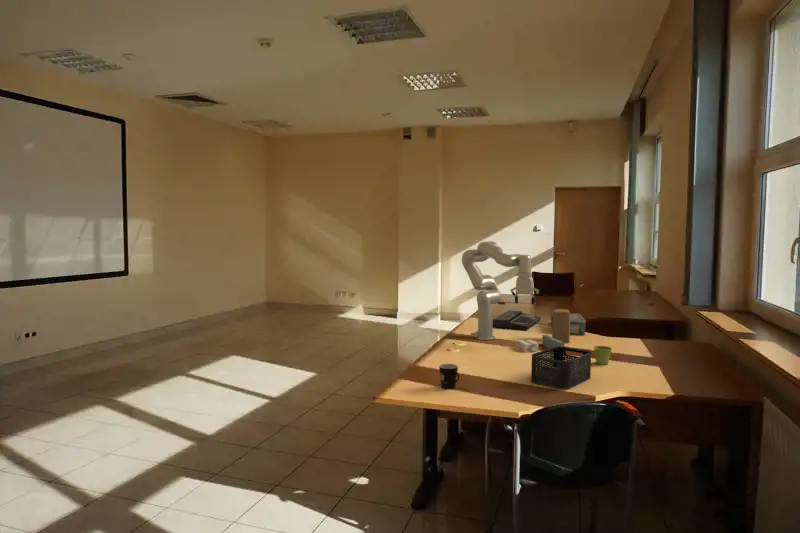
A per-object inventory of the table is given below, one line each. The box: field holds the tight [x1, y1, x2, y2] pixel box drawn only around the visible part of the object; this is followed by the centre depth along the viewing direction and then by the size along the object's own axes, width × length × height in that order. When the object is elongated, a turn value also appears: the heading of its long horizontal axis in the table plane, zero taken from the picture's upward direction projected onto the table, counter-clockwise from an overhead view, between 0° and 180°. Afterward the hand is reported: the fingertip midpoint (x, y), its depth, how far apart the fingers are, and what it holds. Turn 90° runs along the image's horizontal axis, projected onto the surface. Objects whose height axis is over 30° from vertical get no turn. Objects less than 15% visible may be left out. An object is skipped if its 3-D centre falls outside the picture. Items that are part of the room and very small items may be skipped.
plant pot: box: [593, 345, 613, 366], centre depth 292 cm, size 9×9×9 cm
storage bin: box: [530, 346, 592, 390], centre depth 262 cm, size 29×19×13 cm
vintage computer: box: [493, 309, 542, 332], centre depth 402 cm, size 43×29×8 cm
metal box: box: [550, 312, 587, 336], centre depth 379 cm, size 21×32×10 cm, turn 168°
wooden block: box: [551, 308, 571, 344], centre depth 345 cm, size 10×10×20 cm
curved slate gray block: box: [541, 334, 565, 353], centre depth 326 cm, size 3×22×6 cm, turn 11°
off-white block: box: [517, 339, 539, 354], centre depth 323 cm, size 8×12×5 cm, turn 8°
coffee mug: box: [438, 363, 460, 390], centre depth 249 cm, size 12×9×10 cm
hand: (524, 303), depth 328 cm, fingers open, 9 cm apart
